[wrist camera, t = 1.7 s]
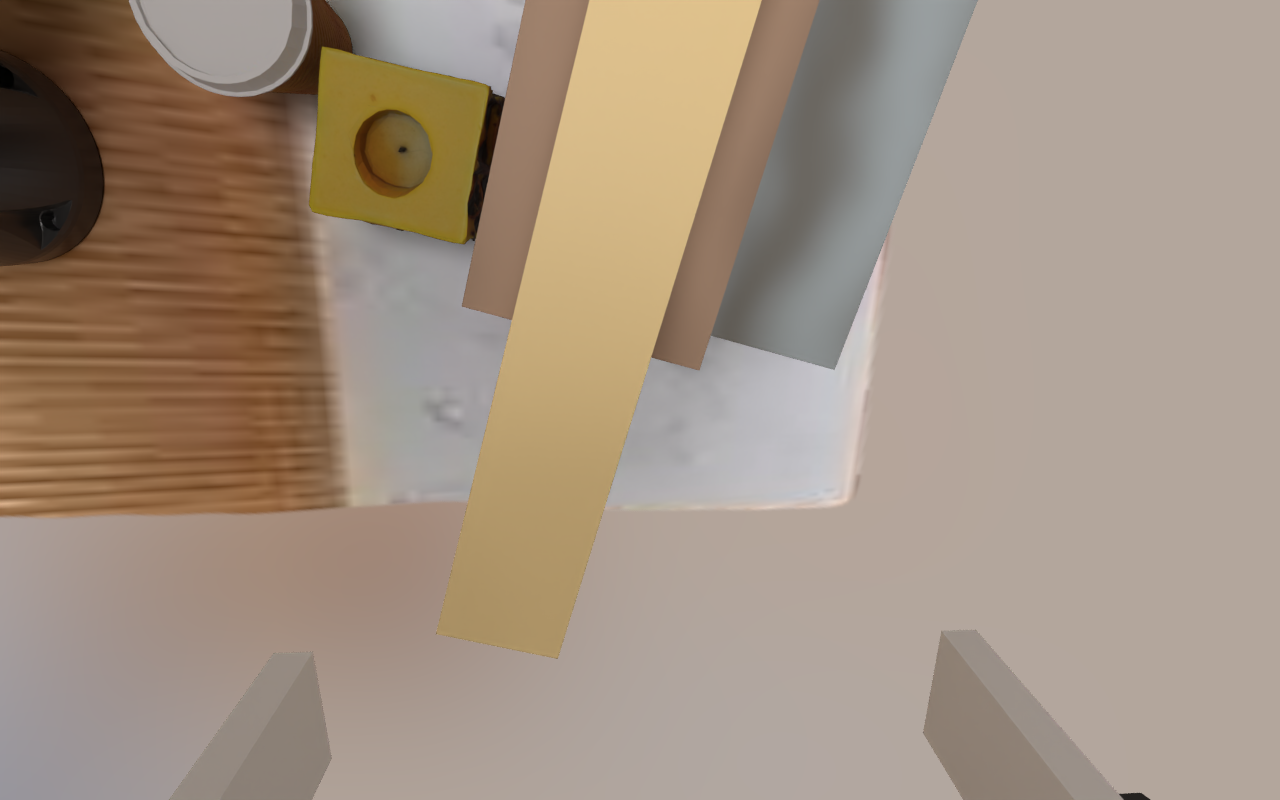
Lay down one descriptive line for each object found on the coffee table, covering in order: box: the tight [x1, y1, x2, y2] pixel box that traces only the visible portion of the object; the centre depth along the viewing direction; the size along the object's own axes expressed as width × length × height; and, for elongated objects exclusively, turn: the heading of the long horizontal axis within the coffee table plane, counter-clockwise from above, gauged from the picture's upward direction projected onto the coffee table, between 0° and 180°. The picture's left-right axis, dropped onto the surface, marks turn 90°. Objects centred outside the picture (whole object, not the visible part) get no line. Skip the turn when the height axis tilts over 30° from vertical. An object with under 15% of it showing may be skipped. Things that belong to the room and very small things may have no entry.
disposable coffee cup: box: [129, 0, 352, 97], centre depth 40 cm, size 10×10×12 cm
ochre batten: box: [436, 0, 762, 659], centre depth 18 cm, size 4×28×3 cm, turn 164°
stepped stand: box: [462, 0, 977, 370], centre depth 34 cm, size 16×18×32 cm
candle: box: [309, 47, 505, 244], centre depth 44 cm, size 10×10×10 cm
